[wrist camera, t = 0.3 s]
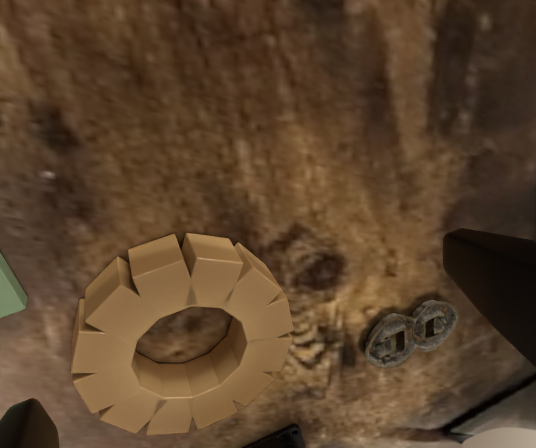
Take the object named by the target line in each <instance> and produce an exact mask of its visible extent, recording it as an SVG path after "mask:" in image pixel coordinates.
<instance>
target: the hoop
mask: <svg viewBox="0 0 536 448" xmlns="http://www.w3.org/2000/svg"><path fill="white" fill-rule="evenodd" d="M128 255H129V261H130V264H129V263H127V262H126V261H124V260H123V259H121V258H120V257H118V256H117V257H116V258H115V259H114V260H113V261H112V262H111V263H110V264H109V265H108V266H107V267H106V268H105V269H104V270H103V271H102V272H101V273H100V275H99V276H98V277H97V278H96V279H95V280H94V281H93V282H92V283H91V284H90V285H89V286H88V287H87V288H86V289H85V299H80V300H79V304H78V309H77V315H76V320H75V325H74V330H73V336H72V351H71V369H70V372H71V373H73V382H72V383H73V385H74V386H75V388H76V389H77V391H78V393H79V394H80V396H81V398H82V399H83V401H84V402H85V404H86V406H87V407H88V409H89V411H90V412H91V413H92V414H93V413H95V412H98V411H99V419H100V420H101V421H103V422H106V423H109V424H111V425H114V426H116V427H119V428H121V429H124V430H126V431H129V432H131V433H134V434H136V433H137V432H138V431H139V430H140V429H141V428H142V427H143V426H145V433H146V435H161V434H175V433H187V432H188V431H189V428H190V425H191V422H192V419H193V420H194V422H195V424H196V426H197V429H198V430H200V429H202V428H204V427H206V426H209V425H211V424H213V423H215V422H218V421H220V420H222V419H224V418H227V417H229V416H231V415H233V414H236V413H237V410H236V407H235V404H234V401H235V402H237V403H239V404H241V405H243V406H245V407H246V406H247V405H248V404H250V403H251V402H252V401H253V400H254V399H255V398H256V397H257V396H258V395H259V394H260V393H261V392H262V391H263V390H264V389H265V388H266V387H267V386H268V385H269V384H270V383H271V382H272V381H273V380H274V378H273V376H272V374H271V372H280V370H281V368H282V365H283V363H284V360H285V358H286V355H287V353H288V350H289V348H290V345H291V343H292V340H293V338H292V336H291V335H290V333H289V332H291V331H293V330H294V328H293V323H292V319H291V314H290V309H289V304H288V300H287V297H286V296H285V294H284V293H283V291H282V289H281V287H280V286H279V284H278V283H277V281H276V280H275V279H274V277H273V276H272V274H271V273H270V271H269V270H268V268H267V267H266V265H265V264H264V263H263V262H261V261H260V260H259V259H258V258H257V257H255V256H254V255H253V254H252V253H251V252H249V251H248V250H247V249H246V248H245V247H243V246H242V245H241V244H240V243H237V244H236V245H235V246H233V245H232V243H231V241H230V240H229V239H228V238H221V237H214V236H207V235H199V234H192V233H186V234H185V238H184V242H183V245H182V249H181V250H180V247H179V244H178V242H177V239H176V236H175V234H172V235H169V236H166V237H163V238H160V239H157V240H154V241H151V242H148V243H145V244H142V245H139V246H137V247H134V248H131V249H128ZM191 306H194V307H211V308H221V309H223V310H224V311H226V312H227V313H229V314H230V315H232V316H233V318H232V321H231V324H230V327H229V330H228V333H227V336H226V337H225V338H224V339H223V340H222V341H221V342H220V343H219V344H218V345H217V346H216V347H215V348H214V349H213V350H212V351H211V352H210V353H208V354H206V355H203V356H201V357H198V358H196V359H194V360H191V361H189V362H186V363H184V364H158V363H156V362H154V361H152V360H150V359H148V358H146V357H144V356H142V355H140V354H138V353H137V352H136V350H135V348H136V344H137V340H138V339H139V338H140V337H141V336H142V335H143V334H144V333H145V332H146V331H147V330H148V329H149V328H150V327H151V326H152V325H153V324H154V323H155V322H156V321H157V320H158V319H160V318H162V317H165V316H168V315H170V314H173V313H175V312H178V311H181V310H183V309H186V308H189V307H191Z"/></svg>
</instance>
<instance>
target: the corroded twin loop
mask: <svg viewBox="0 0 536 448" xmlns="http://www.w3.org/2000/svg"><path fill="white" fill-rule="evenodd" d="M459 317H460V312H459V311H458V309H457V308H456V307H455V306H454V305H453V304H451V303H449V302H447V301H435V300H429V301H427V302H423V303H422V304H421V305H420V306H419V307H418V308H416V309H415V311H414V312H413V313H412V316H411V317H409V316H404V315H401V314H396V313H392V314H389V315H386V316H384V317H383V318H382V320H381V321H380V322H379V323H377V325H376V326H375V327H374V328H373V330H372V331H371V332H370V334H369V337H368V340H367V342H366V343H365V350H366V351H365V356H366V360H367V361H368V362H369V363H371V364H372V365H375V366H378V367H381V368H384V369H386V368H393V367H397V366H399V365H401V364H402V363H404V362H405V361H406V359H408V358H409V356H410V355H411V354H412V352H413V351H414V350H415V349H419V350H422V351H424V352H429V351H431V350H433V349H436V348H438V347H439V346H440V345H441V344H442V343H443V342H444V341H445V340H446V339H447V338H448V337H449V336H450V335H451V333H452V332H453V330H454V328H455V326H456V324H457V322H458V320H459ZM428 320H430V322H431V325H432V326H433V328H434V330H432V331H431V332H430V333H428V334H426V327H425V324H426V322H427V321H428ZM402 330H403V336H404V340H403V341H402V342H401V344H400V345H398V346H396V340H395V338H389V339H388V338H387V337H388V336H390V335H393V334H395V333H398V332H400V331H402Z"/></svg>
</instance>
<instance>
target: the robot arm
mask: <svg viewBox="0 0 536 448" xmlns="http://www.w3.org/2000/svg"><path fill="white" fill-rule="evenodd" d="M443 266H444V269H445V271H446V273H447V274H448V275H449V276H450V278H451V279H452V280H453V281H454V282H455V283H456V285H457V286H458V287H459V288H460V289H461V290H462V292H463V293H464V294H465V295H466V296H467V297H468V299H469V300H470V301H471V302H472V303H473V304H474V306H475V307H476V308H477V309H478V310H479V311H480V313H481V314H482V315H483V316H484V317H485V318H486V319H487V320H488V322H489V323H490V324H491V325H492V326H493V327H494V328H495V329H496V330H497V331H498V332H499V333H500V334H502V335H503V336H504V337H505V338H506V339H507V340H508V341H509V342H510V343H511V344H512V345H513V346H514V347H515V348H516V349H517V350H518V351H519V352H520V353H521V354H522V355H523V356H525V357H526V358H527V359H528V360H529V361H530V362H531V363H532V364H533V365H534V366H535V367H536V241H534V240H528V239H522V238H516V237H511V236H505V235H499V234H493V233H487V232H481V231H476V230H470V229H464V228H460V229H457V230H454V231H452V232H449V233H447V234H446V235H445V236H444V238H443ZM0 448H59V437H58V432H57V428H56V426H55V424H54V423H53V421H52V420H51V418H50V417H49V415H48V414H47V412H46V411H45V410H44V408H43V407H42V405H41V404H40V402H39V401H38V400H36V399H33V398H31V399H28V400H26V401H23V402H21V403H18V404H16V405H13V406H12V407H10V408H9V409H8V411H7V412H6V413H5V415H4V416H3V417H2V419H1V420H0ZM242 448H305V446H304V442H303V438H302V434H301V430H300V428H299V426H298V424H292V425H289V426H287V427H285V428H283V429H281V430H279V431H276V432H274V433H272V434H270V435H268V436H266V437H263V438H261V439H259V440H257V441H255V442H253V443H251V444H248V445H246V446H244V447H242Z"/></svg>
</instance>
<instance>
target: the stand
mask: <svg viewBox="0 0 536 448" xmlns="http://www.w3.org/2000/svg"><path fill="white" fill-rule="evenodd" d="M27 299H28V297H27V296H26V294H25V292H24V291H23V289H22V287H21V286H20V284H19V282H18V281H17V279H16V277H15V276H14V274H13V272H12V271H11V269H10V267H9V266H8V264H7V263H6V261H5V259H4V258H3V256H2V254H1V253H0V318H2V317H5V316H7V315H10V314H13V313H16V312H19V311H22V310H24V309H26V304H27Z"/></svg>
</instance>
